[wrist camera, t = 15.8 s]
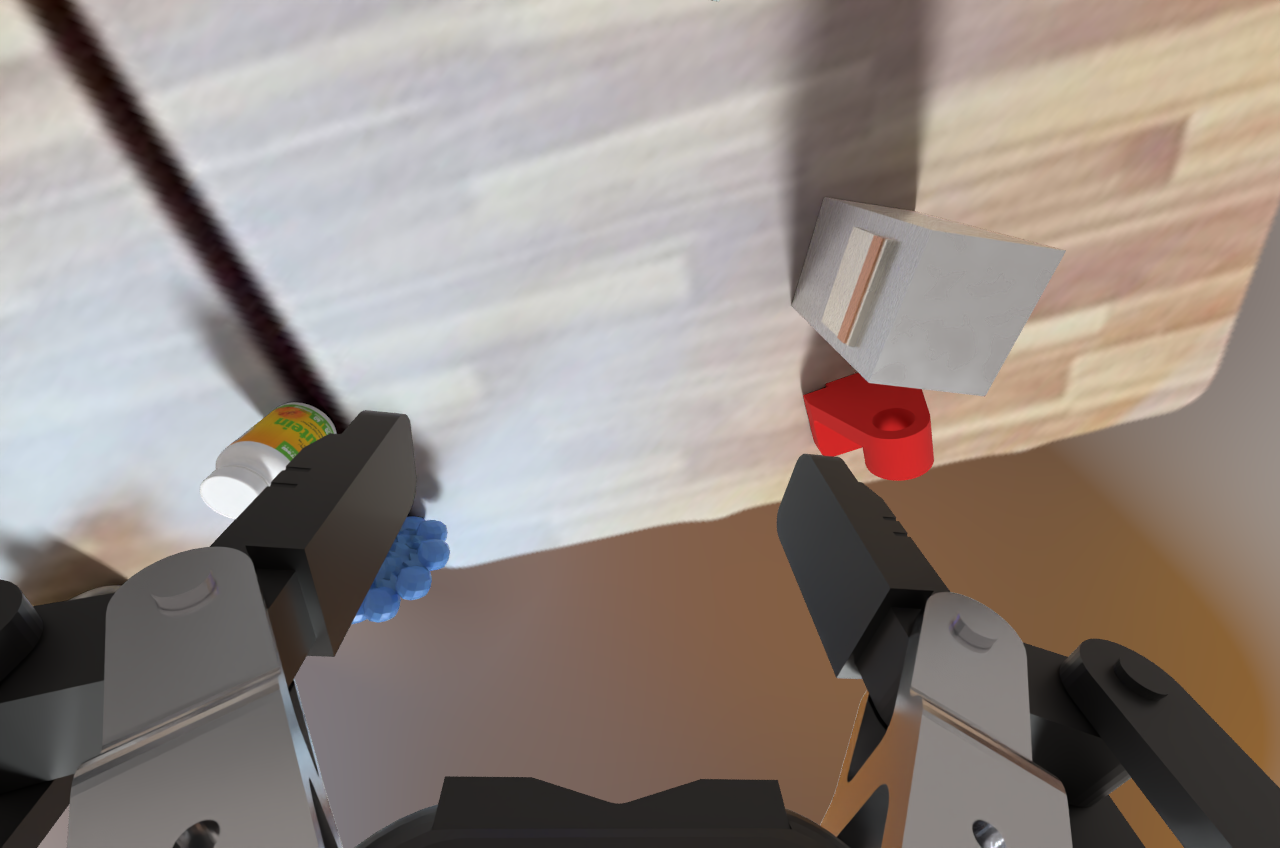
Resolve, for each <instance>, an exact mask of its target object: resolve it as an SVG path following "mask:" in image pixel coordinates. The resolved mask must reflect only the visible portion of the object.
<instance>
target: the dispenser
mask: <svg viewBox="0 0 1280 848" xmlns="http://www.w3.org/2000/svg"><path fill="white" fill-rule="evenodd" d="M1065 252H1066V250H1062V249H1058V248H1054V247H1050V246H1047V245H1043V244H1039V243H1035V242H1031V241H1027V240H1024V239H1020V238H1016V237H1012V236H1008V235H1004V234H1001V233H997V232H993V231H989V230H985V229H982V228H978V227H974V226H970V225H966V224H962V223H959V222H955V221H951V220H947V219H943V218H939V217H936V216H932V215H928V214H924V213H920V212H916V211H911V210H904V209H898V208H892V207H885V206H879V205H872V204H866V203H860V202H853V201H847V200H840V199H834V198H828V197H824V199H823V203H822V206H821V209H820V213H819V216H818V219H817V223H816V226H815V229H814V232H813V236H812V239H811V242H810V246H809V249H808V252H807V256H806V259H805V262H804V266H803V269H802V272H801V276H800V279H799V282H798V286H797V289H796V292H795V296H794V299H793V302H792V307H793V308H794V309H795V310H796V311H797V312H798V313H799V314H800V315H801V316H802V317H803V318H804V319H805V320H806V321H807V322H808V323H809V324H810V325H811V326H812V327H813V328H814V329H815V330H816V331H817V332H818V333H819V334H820V335H821V336H822V337H823V338H824V339H825V340H826V341H827V342H828V343H829V344H830V345H831V346H832V347H833V348H834V349H835V350H836V351H837V352H838V353H839V354H840V355H841V356H842V357H843V358H844V359H845V360H846V361H847V362H848V363H849V364H850V365H851V366H852V367H853V368H854V369H855V370H856V371H857V372H858V373H859V374H860V375H861V376H862V377H863V378H864V379H865V380H866V381H867V382H868V383H874V384H883V385H891V386H900V387H909V388H917V389H926V390H935V391H943V392H952V393H961V394H969V395H978V396H986V394H987V392H988V390H989V388H990V387H991V385H992V383H993V381H994V379H995V378H996V376H997V374H998V372H999V370H1000V369H1001V367H1002V365H1003V363H1004V361H1005V360H1006V358H1007V356H1008V354H1009V352H1010V351H1011V349H1012V347H1013V345H1014V343H1015V342H1016V340H1017V338H1018V336H1019V334H1020V333H1021V331H1022V329H1023V327H1024V325H1025V324H1026V322H1027V320H1028V318H1029V316H1030V315H1031V313H1032V311H1033V309H1034V307H1035V306H1036V304H1037V302H1038V300H1039V298H1040V297H1041V295H1042V293H1043V291H1044V289H1045V288H1046V286H1047V284H1048V282H1049V280H1050V279H1051V277H1052V275H1053V273H1054V272H1055V270H1056V268H1057V266H1058V264H1059V263H1060V261H1061V259H1062V257H1063V255H1064V254H1065Z"/></svg>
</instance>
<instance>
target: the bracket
mask: <svg viewBox="0 0 1280 848" xmlns="http://www.w3.org/2000/svg"><path fill="white" fill-rule="evenodd" d="M803 397H804V401H805V406H806V410H807V414H808V418H809V422H810V427H811V431H812V435H813V439H814V442H815V444H816V446H817V447H818V449H819V450H820V452H821V454H822V455H823V456H837V455H840V454H843V453H846V452H849V451H853V450H856V449H859V448H862V447H863V452H864V458H865V464H866V467H867V468H868V470H869V471H870V472H871V473H872V474H874V475H876V476H878V477H880V478H883V479H887V480H908V479H912V478H916V477H918V476H921V475H923V474H924V473H926V472H927V471H928V470H929V469H930V468H931V467H932V465H933V462H934V456H933V444H932V432H931V421H930V414H929V411H928V407H927V404H926V401H925V398H924V395H923V392H922V389H917V388H909V387H900V386H891V385H883V384H874V383H868V382H867V381H866V380H865V379H864V378H863V377H862V376H861V375H860V374H859V373H856V374H853V375H850V376H847V377H844V378H841V379H838V380H835V381H832V382H829V383H826V388H823V389H820V390H817V391H814V392H811V393H808V394H805V395H803Z"/></svg>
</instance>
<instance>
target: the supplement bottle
mask: <svg viewBox="0 0 1280 848" xmlns="http://www.w3.org/2000/svg"><path fill="white" fill-rule="evenodd" d="M330 433H333V434H337V433H336V429H335V426H334V424H333V423H332V421H331V420H330V418H329V417H328V416H327V415H326V414H325V413H323V412H322V411H320V410H319V409H317V408H315V407H313V406H311V405H308V404H304V403H298V402H292V403H286V404H283V405H281V406H279V407H277V408H276V409H275V410H273V411H272V412H271V413H269V414H268V415H267V416H266V417H264V418H263V419H262V420H261V421H259V422H258V423H257V424H256V425H254V426H253V427H252V428H251V429H249V430H248V431H247V432H246V433H244V434H243V435H242V436H241V437H239V438H238V439H237V440H235V441H234V442H233V443H232V444H230V445H229V446H228V447H227V448H225V449H224V450H223V451H222V452H221V453H220V455H219V456H218V458H217V461H216V470H215V471H213V472H212V473H211V474H210V475H209V476H208V477H207V478H206V479H205V480H204V481H203V482H202V484H201V486H200V494H201V497H202V499H203V500H204V502H205V503H206V504H207V505H208V506H209V507H210V508H211V509H212V510H214V511H215V512H217V513H219V514H221V515H223V516H225V517H228V518H232V519H236V518H237V517H238V516H239V515H240V514H241V513H242V512H243V511H244V510H245V509H246V508H247V507H248V506H249V505H250V504H251V503H252V501H253V500H254V499H255V498H256V497H257V496H258V495H259V494H260V493H261V492H262V491H263V490H264V489H265V488H266V487H267V486H270V485H271V481H272V480H273V479H274V478H275V477H276V476H277V475H278V474H279V473H280V472H281V471H282V470H285V469H286V466H287V465H288V463H289V462H290V461H291V460H292V459H293V458H294V457H295V456H296V455H297V454H298V453H299V452H300V451H301V450H302V449H303V448H304V447H306V446H308V445H309V444H311V443H313V442H315V441H317V440H319V439H320V438H322V437H324V436H326V435H328V434H330Z"/></svg>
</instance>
